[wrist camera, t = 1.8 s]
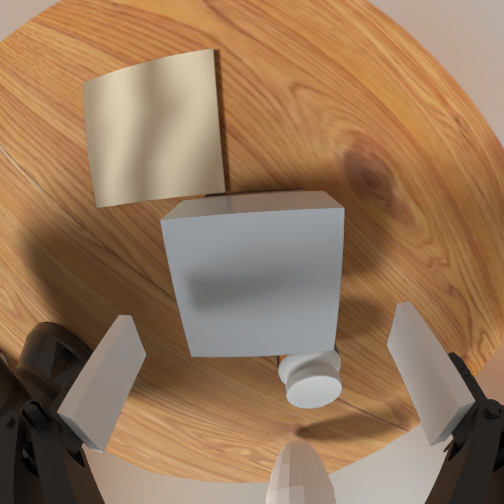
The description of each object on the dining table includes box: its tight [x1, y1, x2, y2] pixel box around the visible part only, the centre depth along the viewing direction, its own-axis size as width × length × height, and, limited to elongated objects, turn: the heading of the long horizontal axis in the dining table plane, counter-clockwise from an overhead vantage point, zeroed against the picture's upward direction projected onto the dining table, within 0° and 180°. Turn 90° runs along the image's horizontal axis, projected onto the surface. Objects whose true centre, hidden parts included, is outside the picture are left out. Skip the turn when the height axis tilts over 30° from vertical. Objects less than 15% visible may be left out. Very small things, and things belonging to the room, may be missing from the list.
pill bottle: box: [277, 342, 342, 409], centre depth 25 cm, size 6×6×10 cm
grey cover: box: [160, 191, 344, 357], centre depth 19 cm, size 10×10×5 cm
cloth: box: [83, 49, 226, 208], centre depth 22 cm, size 13×13×1 cm
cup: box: [266, 441, 336, 504], centre depth 29 cm, size 10×10×22 cm
